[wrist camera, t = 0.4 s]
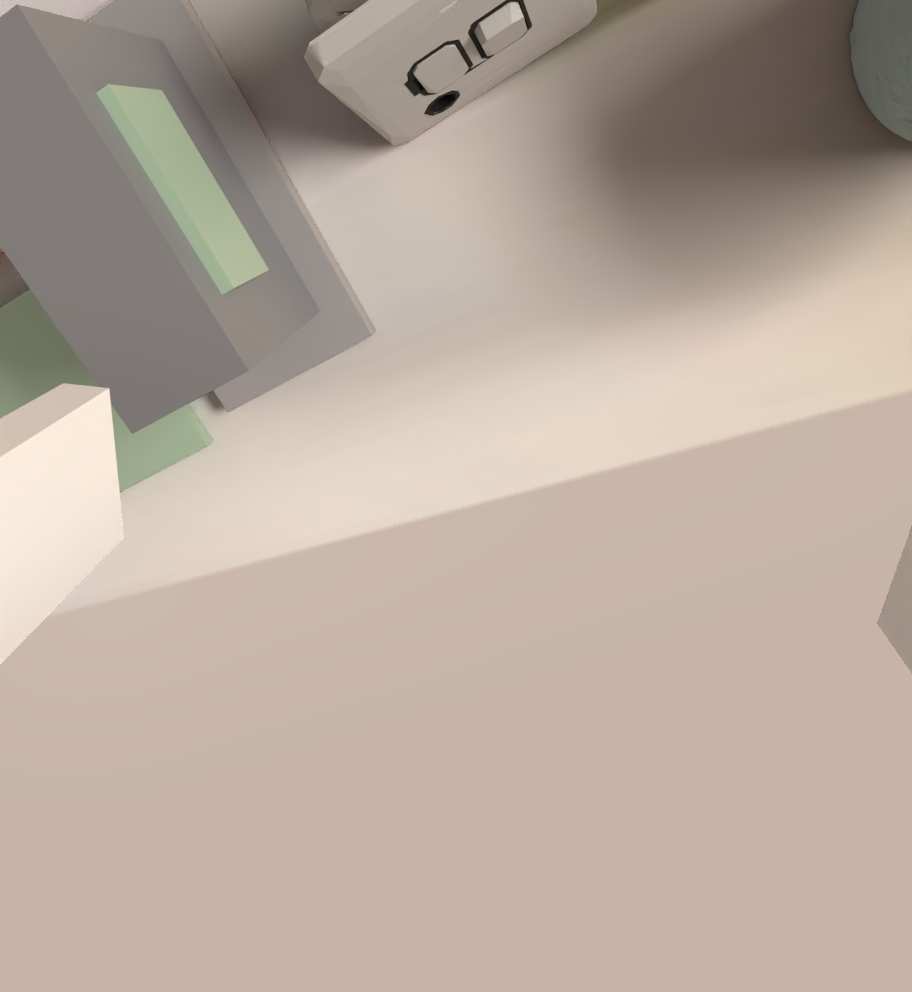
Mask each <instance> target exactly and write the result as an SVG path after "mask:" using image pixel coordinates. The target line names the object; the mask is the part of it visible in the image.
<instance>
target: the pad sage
mask: <svg viewBox="0 0 912 992" xmlns="http://www.w3.org/2000/svg"><path fill="white" fill-rule="evenodd" d="M63 383H66V384H75V385H85V386H94V387H99V386H98V385H97V384H96V382H95V381H94V379H93V378H92V376H91V375H90V374H89V372H88V371H87V369H86V368H85V367H84V365H83V364H82V362H81V361H80V359H79V358H78V357H77V355H76V354H75V352H74V351H73V350H72V348H71V347H70V345H69V344H68V342H67V341H66V340H65V338H64V337H63V335H62V334H61V332H60V331H59V330H58V328H57V327H56V325H55V324H54V323H53V321H52V320H51V318H50V317H49V315H48V314H47V313H46V311H45V310H44V308H43V307H42V306H41V304H40V303H39V301H38V300H37V298H36V297H35V296H34V294H33V293H32V291H31V290H30V289H29V290H27V291H26V292H24V293H23V294H21V295H19V296H18V297H16V298H15V299H13V300H11V301H10V302H8V303H7V304H5V305H4V306H2V307H0V419H1V418H2V417H4V416H6V415H8V414H9V413H11V412H13V411H15V410H17V409H18V408H20V407H22V406H24V405H25V404H27V403H29V402H31V401H33V400H34V399H36V398H38V397H40V396H42V395H43V394H45V393H47V392H49V391H50V390H52V389H54V388H56V387H58V386H59V385H61V384H63ZM111 411H112V421H113V431H114V441H115V451H116V461H117V471H118V481H119V491H120V492H121V491H123V490H125V489H127V488H129V487H131V486H133V485H135V484H137V483H138V482H140V481H142V480H144V479H146V478H148V477H150V476H152V475H154V474H156V473H158V472H160V471H161V470H163V469H165V468H167V467H169V466H171V465H173V464H175V463H177V462H179V461H181V460H183V459H184V458H186V457H188V456H190V455H192V454H194V453H196V452H198V451H200V450H202V449H204V448H206V447H207V446H208V445H209V444H211V443H212V442H213V440H212V438H211V437H210V435H209V434H208V432H207V431H206V429H205V428H204V426H203V425H202V423H201V422H200V420H199V419H198V417H197V416H196V414H195V413H194V411H193V410H192V408H191V407H190V406H189V404H187V405H185V406H183V407H181V408H180V409H178V410H176V411H174V412H172V413H170V414H169V415H167V416H165V417H163V418H161V419H159V420H157V421H156V422H154V423H152V424H150V425H148V426H146V427H145V428H143V429H141V430H139V431H137V432H135V433H134V434H132V433H131V432H130V430H129V429H128V428H127V426H126V425H125V423H124V422H123V420H122V419H121V418H120V416H119V415H118V413H117V412H116V411H115V409H114V408H113V406H112V405H111Z"/></svg>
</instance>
